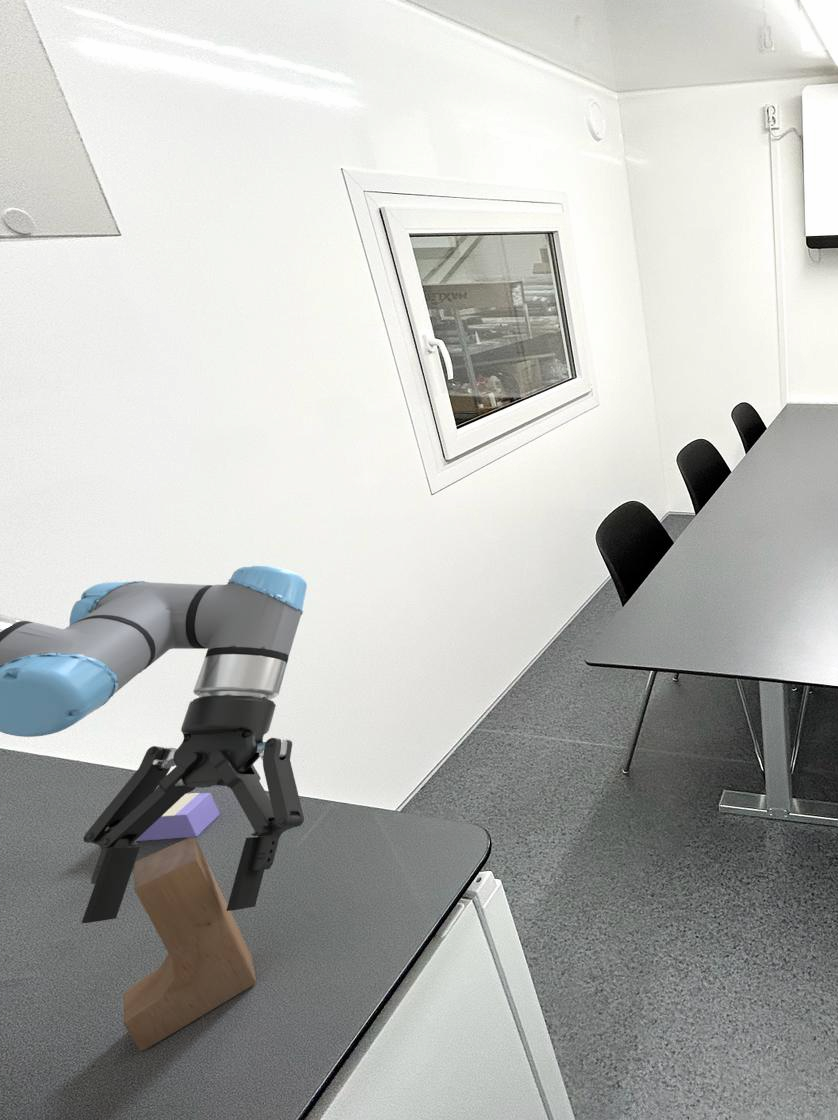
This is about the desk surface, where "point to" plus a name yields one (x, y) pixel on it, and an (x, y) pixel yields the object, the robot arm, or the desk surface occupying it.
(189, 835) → the snack box
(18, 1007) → the desk surface
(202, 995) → the wooden block
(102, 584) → the robot arm
